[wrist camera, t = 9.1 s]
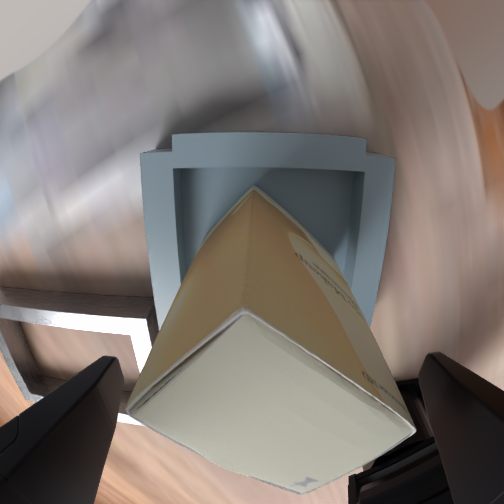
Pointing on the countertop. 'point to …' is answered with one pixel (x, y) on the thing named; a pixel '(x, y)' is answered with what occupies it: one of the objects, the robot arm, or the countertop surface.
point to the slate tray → (275, 186)
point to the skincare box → (270, 358)
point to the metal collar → (75, 317)
